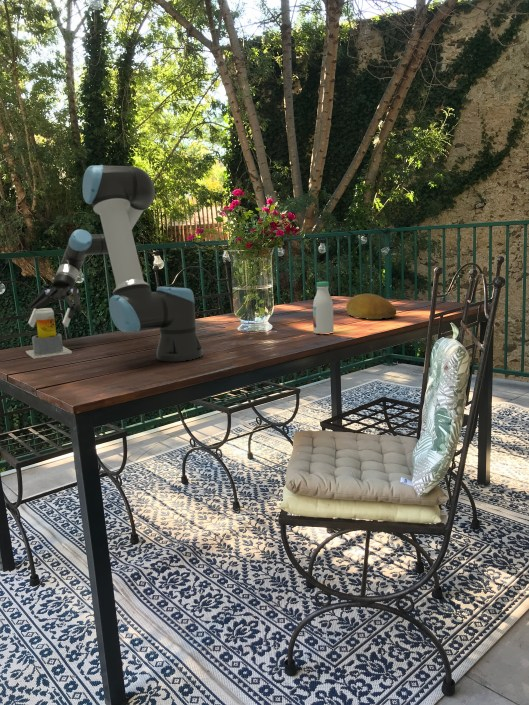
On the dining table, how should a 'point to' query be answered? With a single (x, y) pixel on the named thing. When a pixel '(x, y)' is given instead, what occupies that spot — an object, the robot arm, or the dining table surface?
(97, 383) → the dining table surface
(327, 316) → the milk bottle
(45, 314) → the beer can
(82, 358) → the dining table surface
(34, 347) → the grey can holder
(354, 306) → the bread
